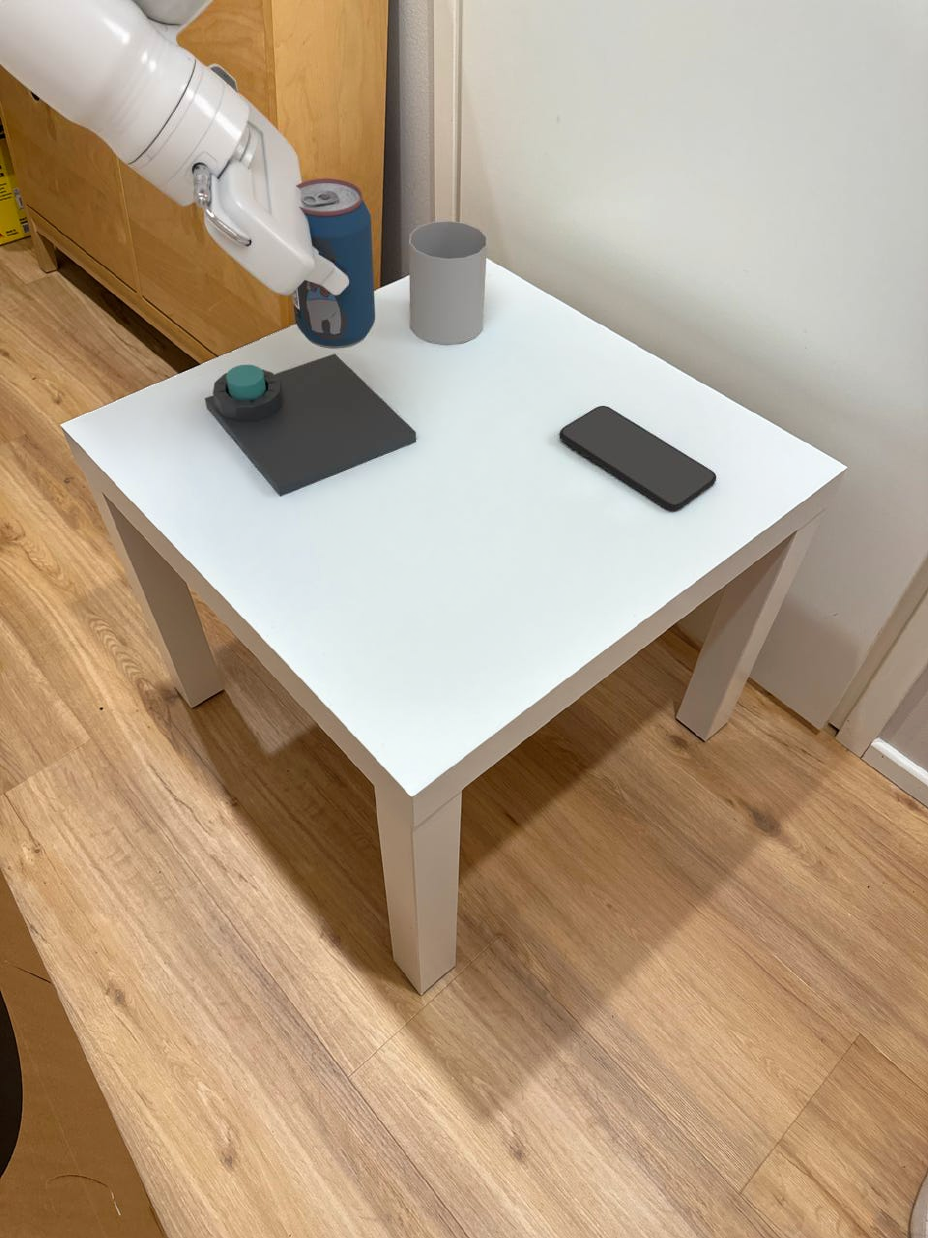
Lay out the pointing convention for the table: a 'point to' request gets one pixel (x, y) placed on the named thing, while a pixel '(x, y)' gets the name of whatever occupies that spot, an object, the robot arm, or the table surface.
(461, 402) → the table surface
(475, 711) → the table surface
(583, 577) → the table surface
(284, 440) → the scale
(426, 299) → the cup
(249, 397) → the tare button
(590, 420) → the smartphone
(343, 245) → the soda can
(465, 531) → the table surface
